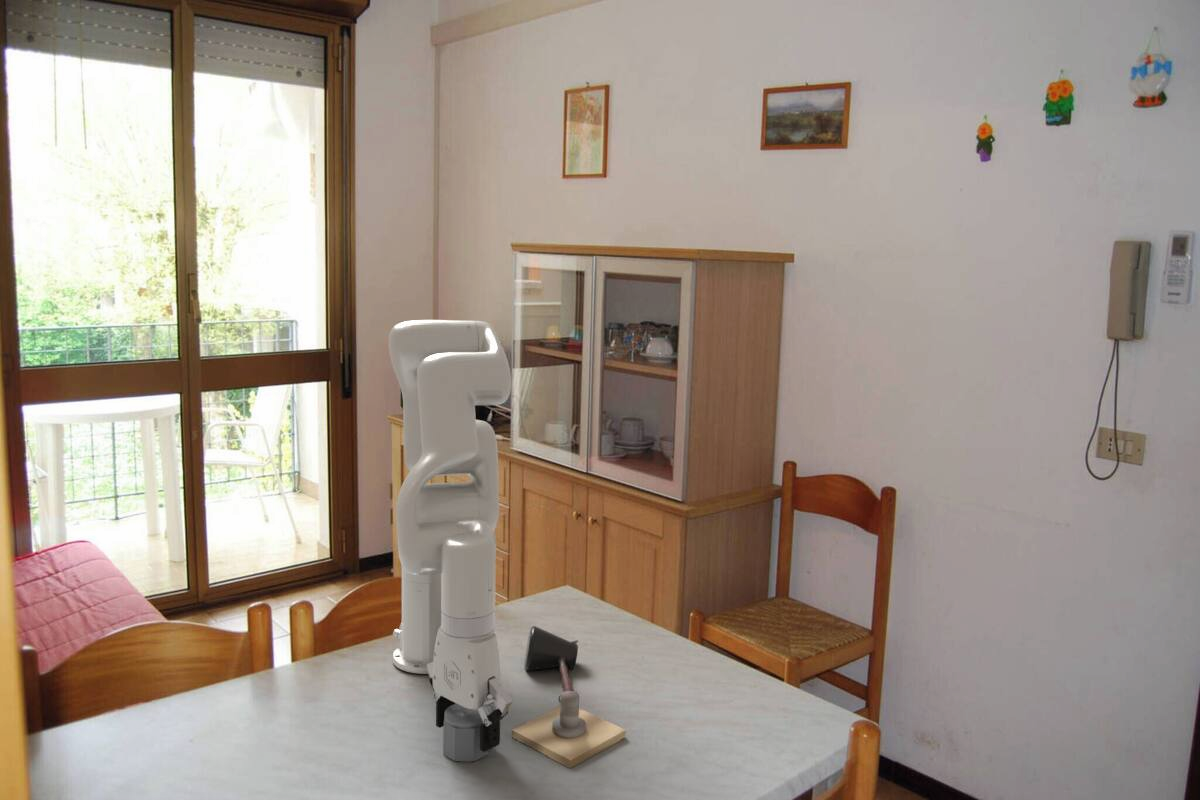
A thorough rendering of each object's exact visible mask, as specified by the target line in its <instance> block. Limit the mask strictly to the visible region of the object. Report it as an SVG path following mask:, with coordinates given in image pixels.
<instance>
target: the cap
mask: <svg viewBox="0 0 1200 800" xmlns="http://www.w3.org/2000/svg"><path fill="white" fill-rule="evenodd" d="M486 709H487V711H488V713H489V715H490V714H491V712H490V709H489V708H488V706H486ZM482 723H483V720H482V718H481V716H480V714H479V711H478V710H475V711H472V710H469V709H466V708H464V707H462V706H460V705H458V704H453V705H451V706H449V707H448V708H447V709H446V710H445V716H444V726H443V742H442V743H443V752H442V753H443V756H444V757H446V756H447V758H448V757H449V758H448V759H450V758H451V759H452V761H453V760H454V761H453V762H455V761H466V763H468V762H467V761H475V762H477V761H479V760H480V758H481V759H482V757H483V758H484V756H485V757H486V755H487V756H488V755H489V754H488V753H489V752H490V749H489V750H487V751H485V752H483V751H481V750H480V724H482ZM451 759H450V760H451ZM478 759H479V760H478ZM476 760H477V761H476Z"/></svg>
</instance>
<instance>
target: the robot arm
mask: <svg viewBox="0 0 1200 800" xmlns="http://www.w3.org/2000/svg"><path fill="white" fill-rule="evenodd" d="M388 348H389V349H388V350H389V351H388V352H389V356H390V362H391V365H392V369H393V371H394V374H395V376H396V379H397V382H398V385H399V388H400V390H401V391H400V392H401V395H402V405H403V406H402V407H403V410H402V413H403V415H402V417H403V419H402V421H403V422H402V423H403V424H402V426H403V452H404V453H403V454H404V463H405V466H406V469H407V470H408V473H407V475H406V477H405V479H404V480H403V482H402V485H400V486H401V487H400V490H399V491H398V496H397V499H396V503H395V505H396V506H395V507H396V508H395V509H396V510H395V513H396V514H395V517H396V535H397V537H396V539H397V551H398V558H399V562H400V564H401V623H400V624H399V628H396V629H394V630H393V631H392V635H393V637H394V638H398V639H399V647H397V648H396V649H395V650H394V651H393V653H392V663H393V665H394V666H395V667H397V668H398V669H399V670H401V671H404V672H407V673H410V674H411V673H412V674H418V675H428V676H429V678H430V679H429V683H430V685H431V687H432V689H433V694H432V696H433V699H434V701H435V727H437V728H440V729H441V728H444V716H445V710H446V709H447V708H448V707H449V706H451V705H453V704H458V705H460V706H462V707H464V708H466V709H469V710H472V711H475V710H478V711H479V714H480V716H481V718H482V720H483V723H482V724H480V750H481V751H483V752H485V751H487V750H489V751H490V750H491V749H493V748H496V747H498V746H499V745H500V743H501V742H500V741H501V721H502V720H503V719H504V718H505V717H506V716H507V715H508V714H509V710H510V707H511V705H512V703H513V699H512V697H511V695H509V694H508V692H507V691H506V690H505V689H504V688H503V686H502V685H501V664H500V653H499V652H500V651H499V644H498V639H497V635H496V633H495V632H496V629H495V628H496V623H495V622H496V614H495V613H496V560H497V559H496V558H497V557H496V553H497V552H496V551H497V538H496V533H495V529H496V528H497V526H498V522H499V514H500V513H499V511H500V508H499V507H500V504H499V503H500V500H499V499H500V498H499V450H498V441H497V436H496V433H495V430H494V428H493V426H492V425H491V424H490V423H488V422H487V421H485V420H480V419H476V406H500V405H502V404H504V403H506V401H508V399H509V397H510V395H511V391H512V375H511V369H510V364H509V361H508V357H507V355H506V352H505V349H504V347H503V344H502V343H501V340H500V339H499V335H498V333H497V332H496V329H495V328H494V326H493V325H492V324H491V323H489V322H487V321H483V320H467V319H466V320H465V319H464V320H462V319H461V320H460V319H459V320H454V319H452V320H451V319H416V320H415V319H414V320H406V321H403V322H400V323H397V324H396V325H394V326H393V327H392V328H391V330H390V331H389V336H388ZM458 475H459V476H461V475H462V476H464V475H467V476H469V477H470V481H464V482H463V481H462V482H458V481H457V482H435V483H434V482H433V483H428V482H429V481H431V480H432V479H434V478H435V477H439V476H458ZM486 706H487V707H488V706H490V709H491V711H492V712H489V713H490V715H489V713H488V711H487V709H486Z"/></svg>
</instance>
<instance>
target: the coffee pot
mask: <svg viewBox="0 0 1200 800" xmlns="http://www.w3.org/2000/svg"><path fill="white" fill-rule="evenodd" d="M578 651H579V640H578V639H577V640H572V641H569V640H567V639H565V638H562V637H561V636H558V635H556V634H554V633H552V632H549V631H547V630H545V629H542V628H541V627H538V626H536V625H533V626H531V627H530V629H529V632H528V637H527V642H526V648H525V655H524V656H525V657H524V663H523V664H524V665H523V667H524V669H525V670H526V671H534V670H542V669H550V668H559V669H558V670H559V672H560V674H561V687H562V693H563V692H565V691H575V690H574V688H573V682H572V681H571V678H570V676H569V674H568V667H569V668H571V669H572V670H574V669H575V667H576V663H577V657H578ZM560 698H561V694H560V695H559V696H558V701H559V703H560Z"/></svg>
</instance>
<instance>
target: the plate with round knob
mask: <svg viewBox="0 0 1200 800" xmlns="http://www.w3.org/2000/svg"><path fill="white" fill-rule="evenodd" d="M560 695H561V696H560V702H559V703H560V704H559V707H557V708H555V709H552V710H550V711H548V712H546V713H545V714H542V715H540V716H538V717H536V718H534V719H532V720H529V721H527V722H525V723H523V724H521V725H519V726H516V727H515V728H513V729H511V738H512V737H513V738H512V739H514V740H516V739H517V740H516V741H518V740H519V741H518V742H520V741H521V742H522V744H523V743H525V744H526V745H525V744H524V745H525V746H527V745H528V746H527V747H529V746H530V747H529V748H531V747H532V748H531V749H533V748H534V749H533V750H535V751H536V750H537V751H536V752H538V751H539V752H538V753H540V752H541V754H542V753H543V754H542V755H544V756H546V755H547V756H546V757H548V758H549V759H552V760H554V761H556V762H557V763H560V765H561V764H562V765H563V766H565V767H567V768H568V769H572V768H574V767H575V766H577V765H578V764H579V765H580V764H581V763H582V762H584V761H587V760H588V759H590V758H592V757H593V756H595V755H597V754H599V753H601V752H603V751H604V750H605V749H607V748H609V747H611V746H612V745H615V744H616V743H619V742H620V741H622V740H624V739H625V738H626V734H627V733H626V732H627V731H626V729H625V728H622V727H620V726H618V725H616V724H614V723H611V722H610V721H607V720H605V719H603V718H601V717H599V716H596V715H594V714H593V713H590V712H588V711H586V710H584V709H582V708H580V693H579V692H577V691H575V690H574V691H565V692H563V691H562V692H561V693H560ZM623 738H624V739H623ZM621 739H622V740H621ZM521 742H520V743H521ZM589 757H590V758H589ZM587 758H588V759H587Z"/></svg>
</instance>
